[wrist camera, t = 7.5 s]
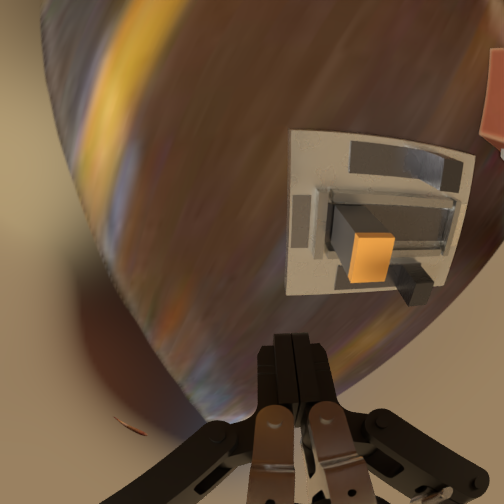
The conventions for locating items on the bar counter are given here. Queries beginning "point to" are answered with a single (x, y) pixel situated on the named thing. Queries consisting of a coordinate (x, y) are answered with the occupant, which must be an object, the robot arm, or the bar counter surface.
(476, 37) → the bar counter surface
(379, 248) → the block
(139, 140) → the bar counter surface
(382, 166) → the breaker board
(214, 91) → the bar counter surface
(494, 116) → the orange rectangular box
